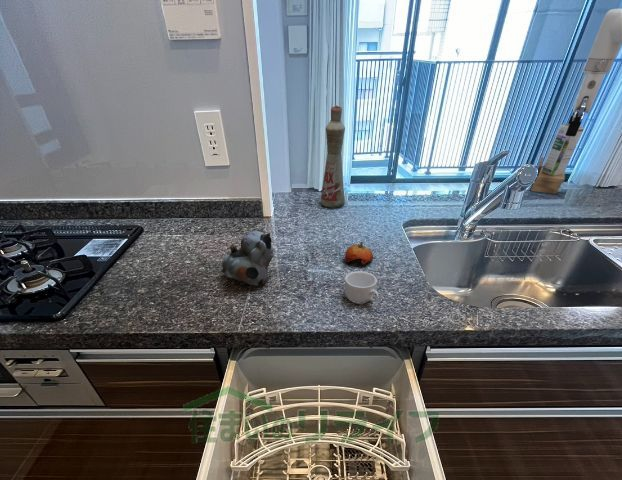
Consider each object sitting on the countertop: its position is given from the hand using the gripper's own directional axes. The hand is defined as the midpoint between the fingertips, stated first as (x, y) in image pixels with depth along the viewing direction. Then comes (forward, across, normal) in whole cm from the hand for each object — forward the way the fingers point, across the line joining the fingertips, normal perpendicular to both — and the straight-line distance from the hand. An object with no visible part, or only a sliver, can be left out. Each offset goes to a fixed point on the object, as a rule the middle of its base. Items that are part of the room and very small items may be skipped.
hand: (570, 132), depth 129 cm
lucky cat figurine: (+17, -108, +70) cm, 130 cm away
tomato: (+18, -87, +46) cm, 100 cm away
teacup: (+18, -106, +38) cm, 114 cm away
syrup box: (+13, 0, 0) cm, 13 cm away
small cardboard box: (+18, 0, +1) cm, 18 cm away
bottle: (+17, -50, +70) cm, 88 cm away
